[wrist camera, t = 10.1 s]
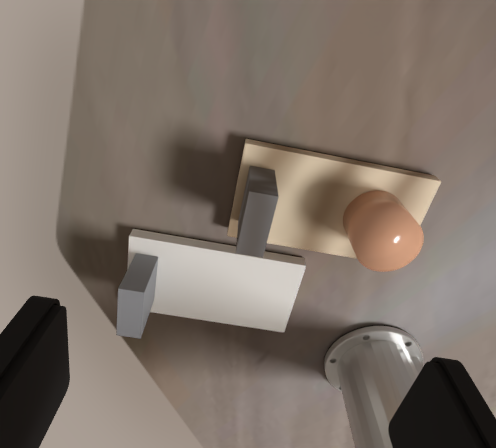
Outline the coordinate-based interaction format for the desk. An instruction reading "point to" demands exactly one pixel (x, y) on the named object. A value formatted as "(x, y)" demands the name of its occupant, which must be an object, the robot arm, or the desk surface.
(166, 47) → the desk surface
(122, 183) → the desk surface
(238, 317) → the white board gray block
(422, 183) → the beige stand with post
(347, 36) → the desk surface
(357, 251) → the peach rounded lump
